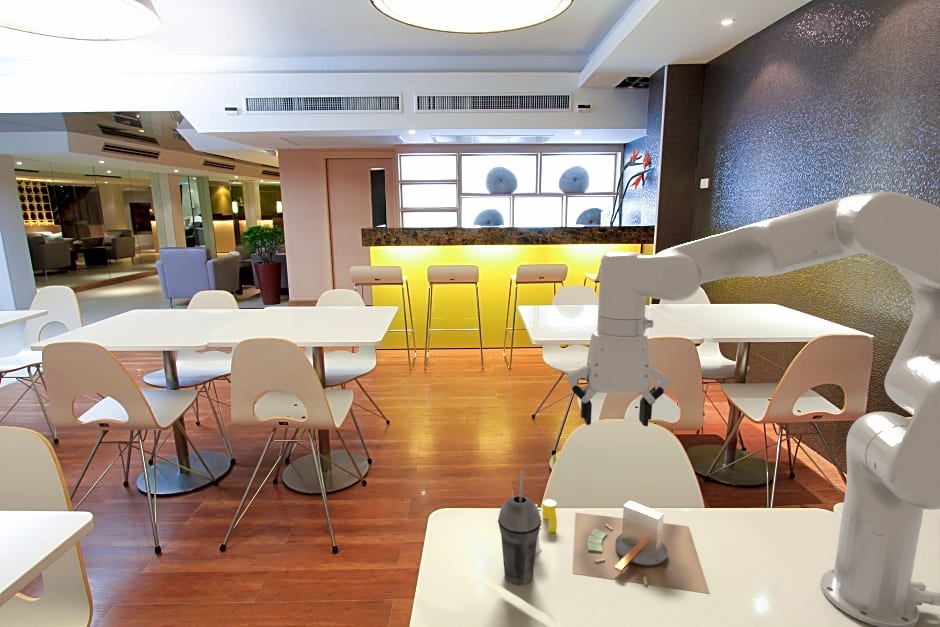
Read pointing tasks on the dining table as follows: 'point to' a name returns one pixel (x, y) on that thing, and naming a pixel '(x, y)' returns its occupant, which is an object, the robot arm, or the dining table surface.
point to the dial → (640, 537)
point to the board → (601, 558)
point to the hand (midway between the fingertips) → (615, 422)
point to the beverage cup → (519, 537)
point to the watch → (550, 514)
